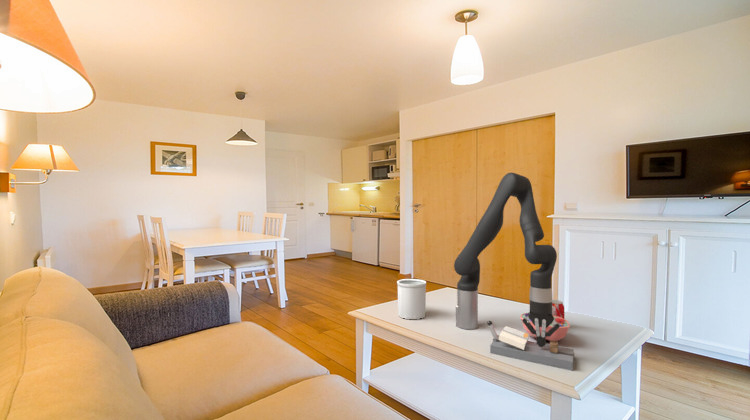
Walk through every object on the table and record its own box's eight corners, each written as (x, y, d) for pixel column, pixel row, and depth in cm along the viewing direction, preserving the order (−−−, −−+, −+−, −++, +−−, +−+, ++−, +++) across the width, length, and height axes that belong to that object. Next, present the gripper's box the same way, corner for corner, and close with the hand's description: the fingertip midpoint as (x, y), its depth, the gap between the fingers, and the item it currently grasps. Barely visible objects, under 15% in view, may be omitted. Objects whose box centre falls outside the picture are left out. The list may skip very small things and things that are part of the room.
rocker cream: (498, 339, 129) (499, 334, 128) (501, 335, 133) (502, 330, 133) (523, 349, 124) (525, 344, 124) (525, 345, 128) (526, 340, 128)
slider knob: (549, 351, 123) (549, 343, 123) (550, 348, 126) (550, 340, 126) (557, 353, 122) (557, 344, 122) (558, 349, 125) (558, 341, 125)
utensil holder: (401, 310, 185) (401, 277, 185) (429, 313, 179) (429, 279, 179) (393, 318, 171) (393, 283, 171) (422, 321, 166) (422, 285, 166)
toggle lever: (493, 340, 134) (485, 322, 136) (494, 338, 136) (486, 320, 137) (498, 339, 133) (490, 320, 135) (499, 337, 135) (491, 319, 136)
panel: (489, 352, 130) (489, 344, 130) (496, 342, 140) (496, 334, 140) (573, 370, 116) (573, 361, 116) (574, 357, 126) (574, 348, 126)
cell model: (550, 351, 132) (550, 321, 132) (511, 333, 150) (511, 307, 150) (580, 344, 138) (580, 316, 138) (539, 328, 157) (539, 303, 157)
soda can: (566, 330, 153) (566, 304, 153) (549, 329, 154) (549, 303, 154) (561, 325, 160) (561, 299, 160) (545, 324, 161) (545, 299, 161)
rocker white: (502, 334, 134) (503, 329, 134) (504, 330, 138) (505, 325, 138) (526, 343, 130) (527, 338, 129) (528, 339, 134) (529, 334, 134)
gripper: (561, 299, 126) (562, 346, 126) (523, 294, 133) (523, 339, 133) (560, 304, 119) (560, 353, 119) (519, 299, 126) (519, 346, 126)
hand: (540, 346), depth 126 cm, fingers closed
